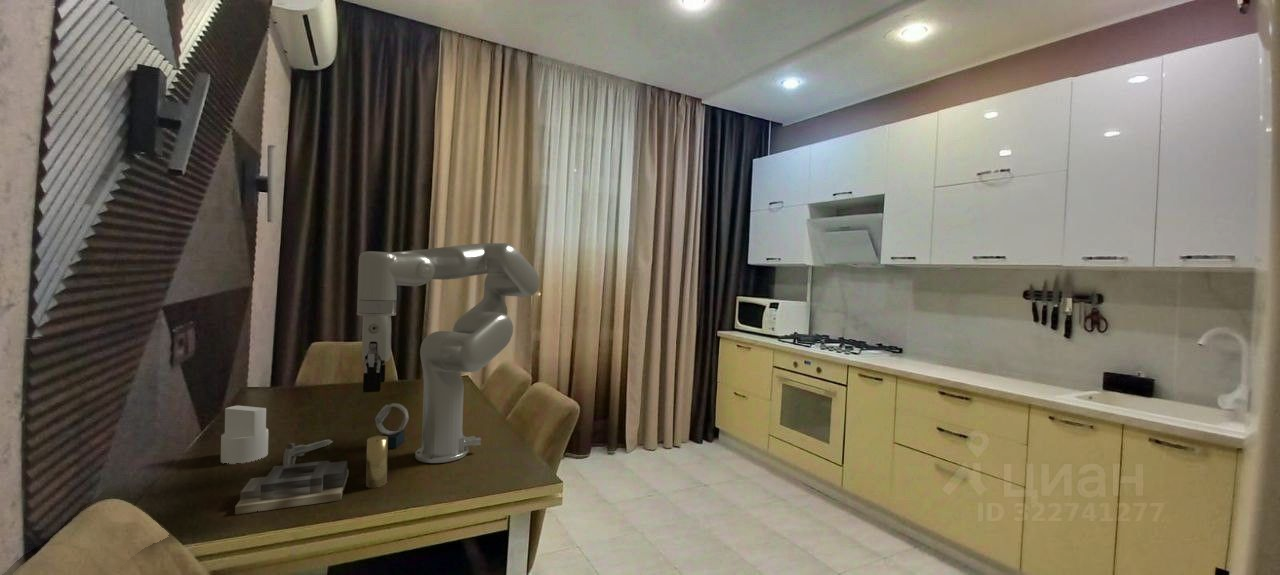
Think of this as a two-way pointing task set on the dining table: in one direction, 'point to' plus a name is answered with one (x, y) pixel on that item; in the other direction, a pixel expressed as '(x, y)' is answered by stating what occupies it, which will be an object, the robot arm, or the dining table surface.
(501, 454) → the dining table surface
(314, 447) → the caliper
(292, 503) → the gray stepped fixture base
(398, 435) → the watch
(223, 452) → the cylinder with rectangular tab
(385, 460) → the brass pin
